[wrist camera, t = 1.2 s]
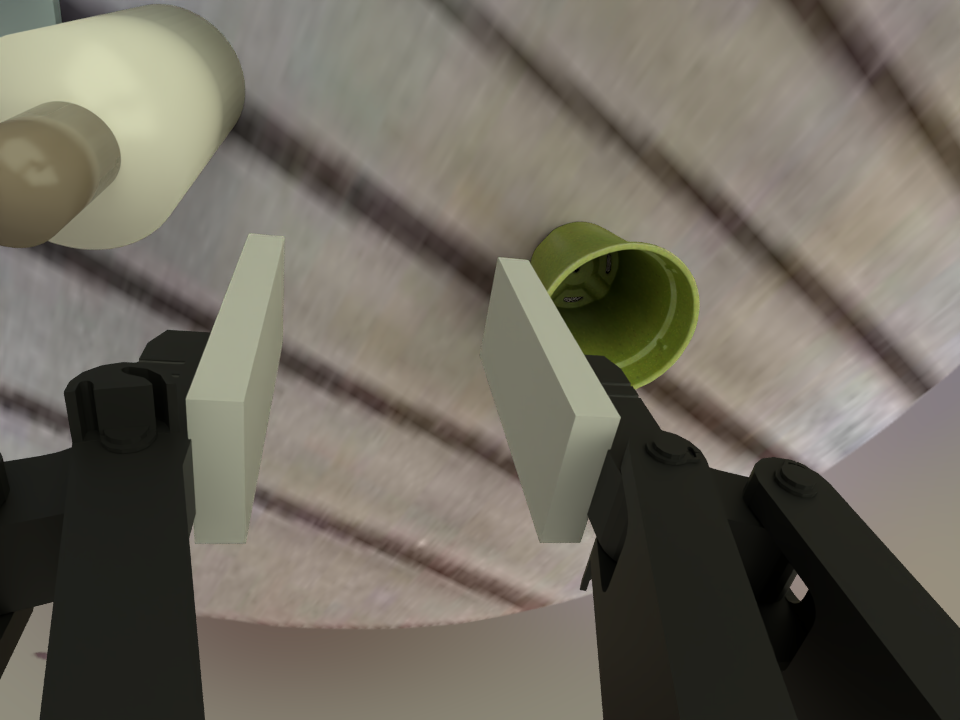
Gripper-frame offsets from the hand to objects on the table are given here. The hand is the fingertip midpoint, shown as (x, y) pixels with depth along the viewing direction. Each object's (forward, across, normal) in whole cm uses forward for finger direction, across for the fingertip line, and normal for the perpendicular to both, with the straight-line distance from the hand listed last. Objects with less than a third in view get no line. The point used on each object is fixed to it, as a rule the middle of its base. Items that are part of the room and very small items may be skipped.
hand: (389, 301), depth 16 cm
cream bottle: (+25, -10, 0) cm, 27 cm away
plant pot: (+25, +14, -8) cm, 30 cm away
